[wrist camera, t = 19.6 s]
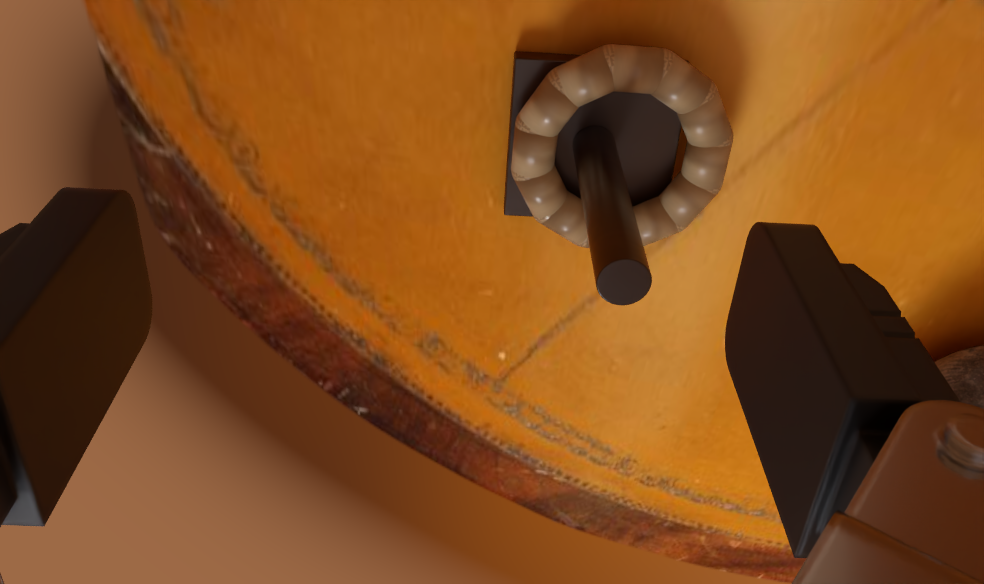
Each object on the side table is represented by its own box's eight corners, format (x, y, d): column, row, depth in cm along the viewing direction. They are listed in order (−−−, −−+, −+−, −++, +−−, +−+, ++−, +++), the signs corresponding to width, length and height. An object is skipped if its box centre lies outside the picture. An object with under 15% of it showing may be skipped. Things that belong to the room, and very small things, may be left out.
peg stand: (503, 206, 45) (506, 365, 34) (514, 50, 41) (521, 177, 30) (661, 213, 46) (713, 374, 35) (688, 60, 41) (757, 188, 30)
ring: (504, 229, 45) (504, 249, 43) (522, 31, 39) (523, 46, 38) (701, 242, 45) (709, 263, 44) (746, 48, 40) (757, 63, 38)
